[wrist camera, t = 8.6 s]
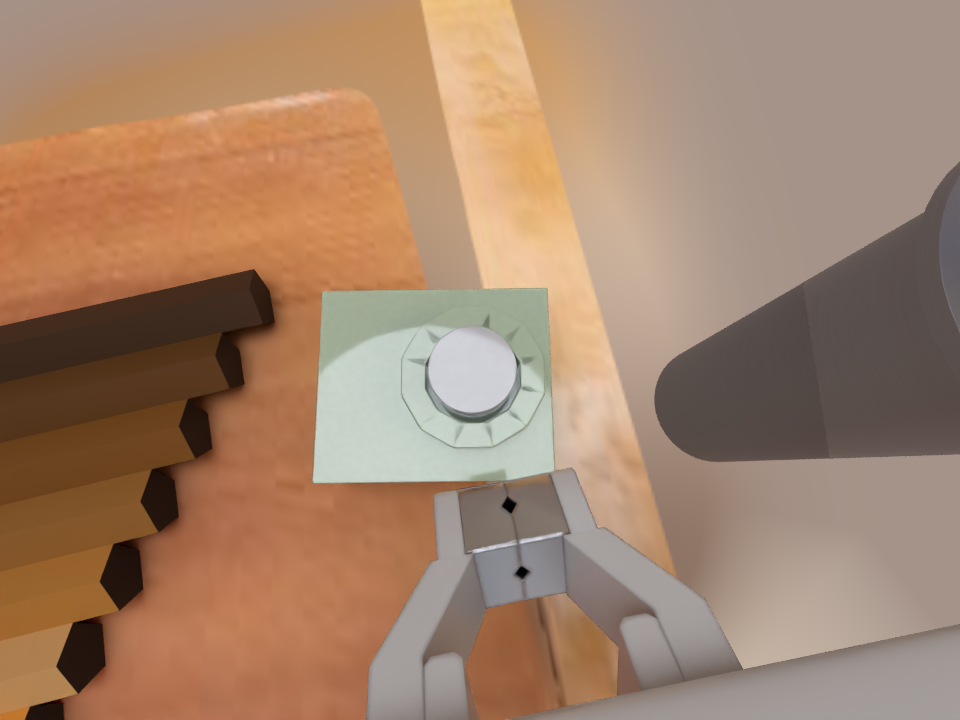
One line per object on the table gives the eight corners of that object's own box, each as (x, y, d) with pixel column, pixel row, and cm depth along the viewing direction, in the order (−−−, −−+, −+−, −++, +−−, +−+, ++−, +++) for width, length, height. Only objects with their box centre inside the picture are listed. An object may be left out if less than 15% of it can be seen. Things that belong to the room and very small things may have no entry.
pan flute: (267, 281, 34) (-121, 369, 33) (245, 261, 31) (-188, 357, 30) (335, 688, 29) (-121, 809, 28) (316, 716, 26) (-202, 855, 25)
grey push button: (513, 336, 26) (515, 324, 24) (515, 417, 25) (518, 412, 23) (432, 337, 26) (427, 326, 24) (431, 418, 25) (427, 413, 23)
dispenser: (535, 320, 34) (551, 275, 26) (541, 478, 32) (561, 481, 24) (350, 323, 34) (311, 278, 26) (344, 481, 31) (299, 484, 24)
